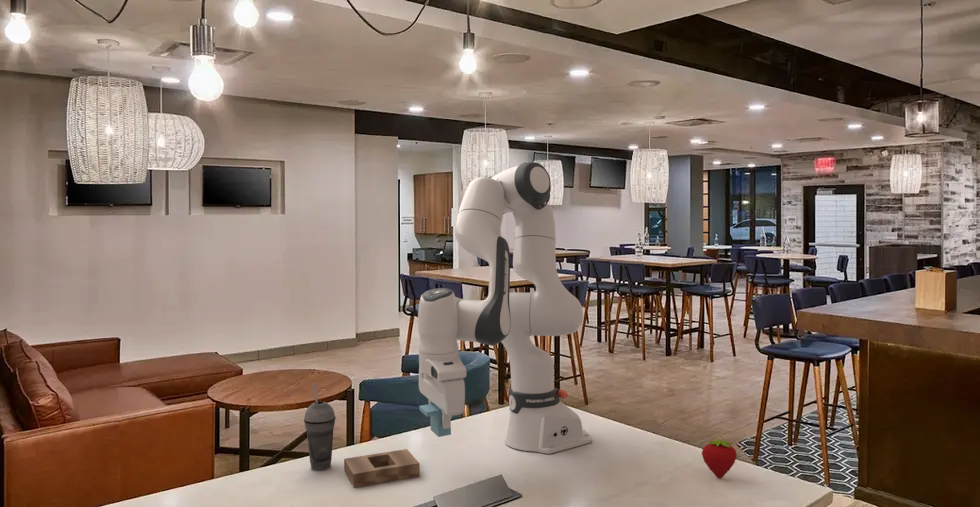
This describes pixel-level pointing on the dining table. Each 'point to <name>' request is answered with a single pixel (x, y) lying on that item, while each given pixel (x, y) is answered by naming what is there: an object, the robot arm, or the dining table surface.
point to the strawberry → (719, 457)
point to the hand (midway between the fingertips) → (440, 422)
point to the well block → (381, 467)
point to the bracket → (435, 419)
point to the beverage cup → (320, 433)
